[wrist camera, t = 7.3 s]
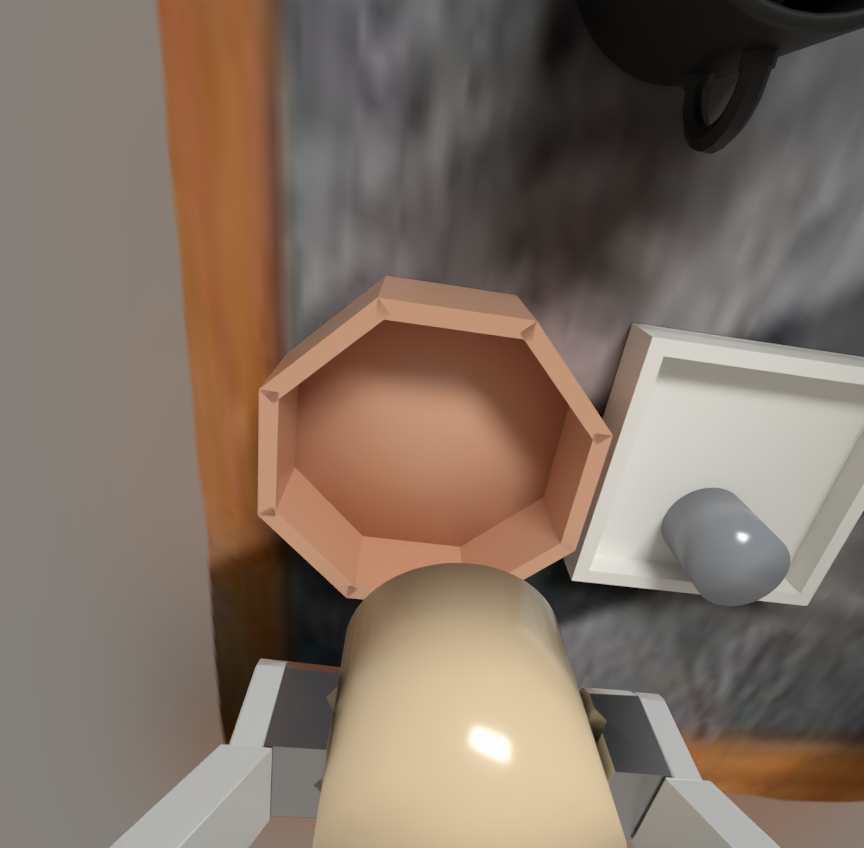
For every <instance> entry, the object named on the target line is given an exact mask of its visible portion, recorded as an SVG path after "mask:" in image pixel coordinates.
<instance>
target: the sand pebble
mask: <svg viewBox="0 0 864 848" xmlns="http://www.w3.org/2000/svg"><path fill="white" fill-rule="evenodd" d="M312 848H627V843H626V840H625V836H624V833H623V829H622V826H621V823H620V820H619V817H618V813H617V810H616V807H615V804H614V801H613V797H612V794H611V791H610V788H609V785H608V782H607V778H606V775H605V772H604V769H603V766H602V762H601V759H600V756H599V753H598V750H597V746H596V743H595V740H594V737H593V734H592V730H591V727H590V724H589V721H588V718H587V714H586V711H585V708H584V705H583V702H582V698H581V695H580V692H579V689H578V686H577V683H576V679H575V676H574V673H573V670H572V667H571V663H570V660H569V657H568V654H567V651H566V647H565V644H564V641H563V638H562V635H561V631H560V628H559V625H558V622H557V619H556V616H555V614H554V612H553V610H552V608H551V606H550V605H549V603H548V602H547V601H546V599H545V598H544V597H543V596H542V595H541V594H540V593H539V592H538V591H537V590H536V589H535V588H534V587H532V586H531V585H530V584H528V583H527V582H526V581H524V580H522V579H520V578H518V577H517V576H515V575H513V574H510V573H508V572H505V571H503V570H500V569H496V568H493V567H489V566H485V565H478V564H472V563H442V564H435V565H429V566H424V567H420V568H417V569H413V570H410V571H408V572H405V573H402V574H400V575H398V576H396V577H394V578H392V579H390V580H388V581H386V582H385V583H383V584H382V585H380V586H379V587H377V588H376V589H375V590H374V591H372V592H371V593H370V594H369V595H368V596H367V597H366V598H365V599H364V600H363V601H362V603H361V604H360V605H359V606H358V607H357V609H356V611H355V612H354V614H353V616H352V617H351V620H350V623H349V625H348V628H347V633H346V637H345V644H344V650H343V656H342V662H341V674H340V682H339V689H338V695H337V702H336V708H335V712H334V715H333V721H332V732H331V739H330V745H329V751H328V757H327V763H326V769H325V775H324V777H323V781H322V787H321V793H320V799H319V806H318V812H317V818H316V825H315V831H314V837H313V843H312Z"/></svg>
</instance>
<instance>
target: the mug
mask: <svg viewBox="0 0 864 848" xmlns="http://www.w3.org/2000/svg"><path fill="white" fill-rule="evenodd" d="M577 3H578V6H579V9H580V12H581V15H582V17H583V20H584V23H585V24H586V26H587V28H588V30H589V32H590V34H591V36H592V37H593V39H594V40H595V42H596V43H597V45H598V46H599V47H600V49H601V50H602V51H603V52H604V54H605V55H606V56H607V57H608V58H609V59H610V60H611V61H613V62H614V63H615V64H616V65H617V66H618V67H620V68H621V69H622V70H624V71H626V72H627V73H629V74H631V75H632V76H634V77H636V78H638V79H641V80H644V81H647V82H650V83H654V84H660V85H667V86H682V85H683V89H684V90H686V91H685V99H684V108H683V126H684V134H685V138H686V140H687V142H688V144H689V146H690V147H691V148H692V149H694V150H696V151H700V152H704V153H708V154H710V153H714V152H716V151H718V150H720V149H722V148H724V147H725V146H726V145H727V144H728V143H729V142H730V141H731V140H732V139H733V138H734V137H735V136H736V135H737V134H738V133H739V132H740V131H741V130H742V129H743V127H744V126H745V125H746V124H747V122H748V121H749V119H750V117H751V116H752V114H753V112H754V110H755V109H756V107H757V105H758V103H759V101H760V99H761V97H762V94H763V92H764V89H765V86H766V84H767V81H768V78H769V75H770V72H771V69H773V68H775V66H776V62H777V58H778V57H779V56H782V55H785V54H788V53H791V52H794V51H797V50H800V49H802V48H805V47H808V46H811V45H814V44H817V43H820V42H823V41H826V40H829V39H832V38H835V37H837V36H840V35H843V34H846V33H849V32H852V31H855V30H858V29H861V28H864V0H577ZM738 70H739V71H740V75H739V78H738V81H737V84H736V87H735V89H734V92H733V94H732V96H731V98H730V101H729V103H728V104H727V106H726V108H725V110H724V111H723V113H722V114H721V115H720V117H719V118H718V119H717V120H716V121H715V122H714V123H713V124H711V125H709V122H708V116H707V102H708V94H709V89H710V88H712V87H713V86H714V81H715V78H718V77H721V76H724V75H727V74H729V73H732V72H735V71H738Z"/></svg>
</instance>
